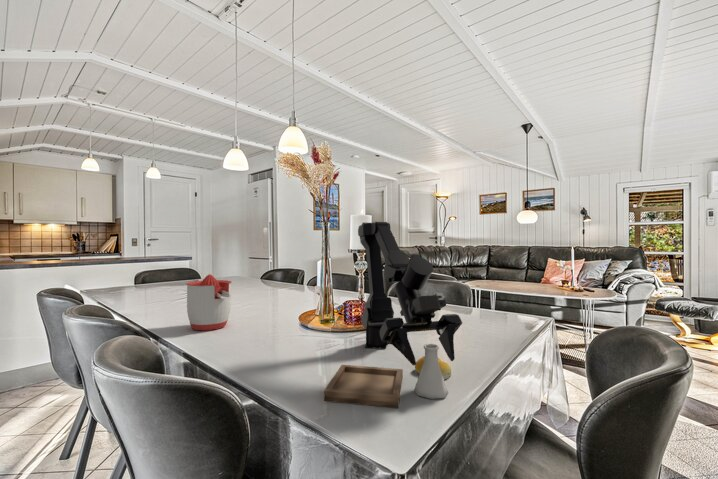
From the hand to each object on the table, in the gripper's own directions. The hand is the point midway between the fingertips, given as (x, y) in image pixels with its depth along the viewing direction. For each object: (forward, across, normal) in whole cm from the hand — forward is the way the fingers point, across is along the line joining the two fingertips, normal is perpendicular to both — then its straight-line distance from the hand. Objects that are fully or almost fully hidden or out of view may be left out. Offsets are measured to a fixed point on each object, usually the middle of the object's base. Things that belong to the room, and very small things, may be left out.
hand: (434, 362), depth 71 cm
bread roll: (-2, +6, +13) cm, 14 cm away
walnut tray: (0, -13, +10) cm, 16 cm away
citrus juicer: (-47, -52, +57) cm, 90 cm away
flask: (+4, 0, +6) cm, 7 cm away
